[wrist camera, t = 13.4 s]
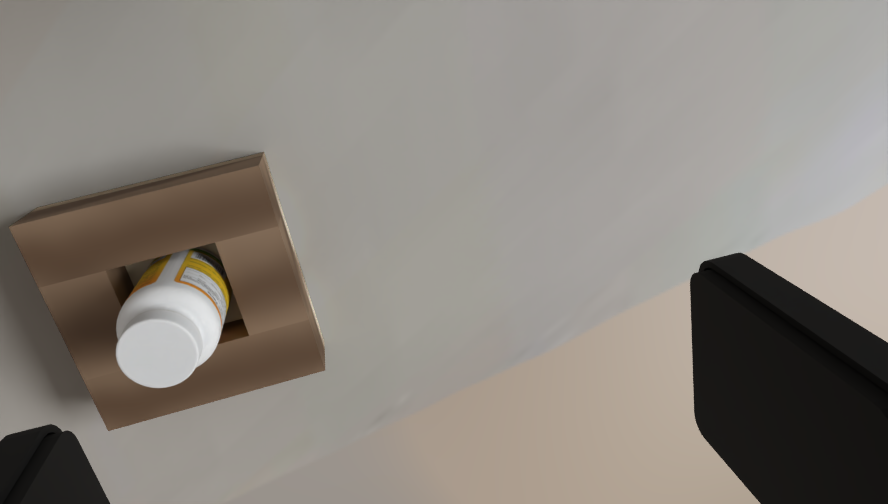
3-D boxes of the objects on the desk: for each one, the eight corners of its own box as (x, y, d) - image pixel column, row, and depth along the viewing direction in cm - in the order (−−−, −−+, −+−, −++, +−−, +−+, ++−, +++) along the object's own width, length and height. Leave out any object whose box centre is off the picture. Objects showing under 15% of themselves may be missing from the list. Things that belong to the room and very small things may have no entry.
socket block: (37, 207, 40) (8, 226, 36) (263, 152, 41) (258, 165, 37) (125, 397, 45) (108, 431, 41) (324, 342, 46) (325, 370, 42)
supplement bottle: (151, 323, 42) (107, 405, 33) (140, 245, 41) (91, 309, 32) (237, 318, 43) (217, 397, 34) (230, 242, 42) (207, 303, 33)
